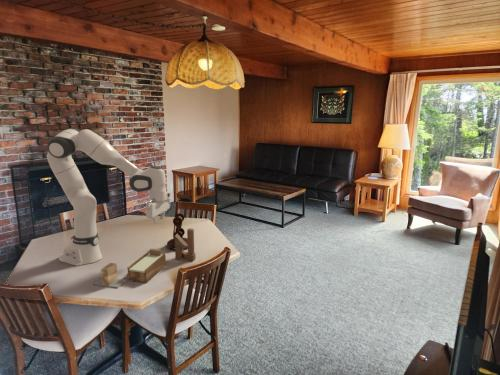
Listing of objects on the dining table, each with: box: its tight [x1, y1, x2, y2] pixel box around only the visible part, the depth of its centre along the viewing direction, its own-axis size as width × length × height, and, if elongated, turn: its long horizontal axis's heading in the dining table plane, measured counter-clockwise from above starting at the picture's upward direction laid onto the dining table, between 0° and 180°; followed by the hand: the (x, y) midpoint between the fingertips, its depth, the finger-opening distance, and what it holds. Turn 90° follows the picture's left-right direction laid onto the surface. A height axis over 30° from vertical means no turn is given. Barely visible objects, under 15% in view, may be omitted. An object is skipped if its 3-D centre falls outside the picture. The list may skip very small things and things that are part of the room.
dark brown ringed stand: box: [166, 212, 188, 250], centre depth 211 cm, size 15×15×20 cm
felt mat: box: [93, 277, 127, 289], centre depth 168 cm, size 13×7×1 cm, turn 77°
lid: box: [129, 248, 164, 273], centre depth 177 cm, size 8×20×4 cm, turn 166°
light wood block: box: [100, 262, 119, 286], centre depth 167 cm, size 4×7×8 cm, turn 167°
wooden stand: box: [174, 228, 196, 262], centre depth 193 cm, size 4×11×18 cm, turn 78°
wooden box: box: [127, 251, 167, 284], centre depth 178 cm, size 10×20×7 cm, turn 167°
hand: (159, 221), depth 187 cm, fingers open, 5 cm apart
